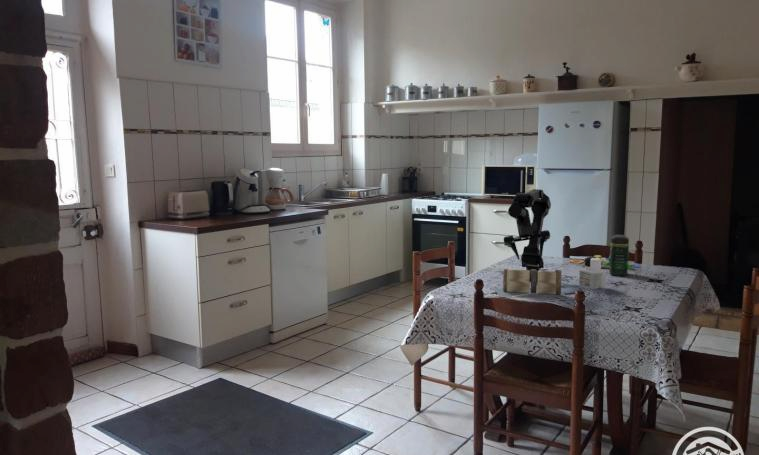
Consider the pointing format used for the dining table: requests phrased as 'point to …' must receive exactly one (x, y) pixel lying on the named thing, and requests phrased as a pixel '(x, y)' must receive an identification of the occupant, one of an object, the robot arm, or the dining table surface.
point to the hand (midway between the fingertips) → (530, 258)
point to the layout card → (523, 294)
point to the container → (592, 274)
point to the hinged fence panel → (519, 280)
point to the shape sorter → (604, 263)
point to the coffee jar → (619, 255)
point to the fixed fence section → (549, 282)
